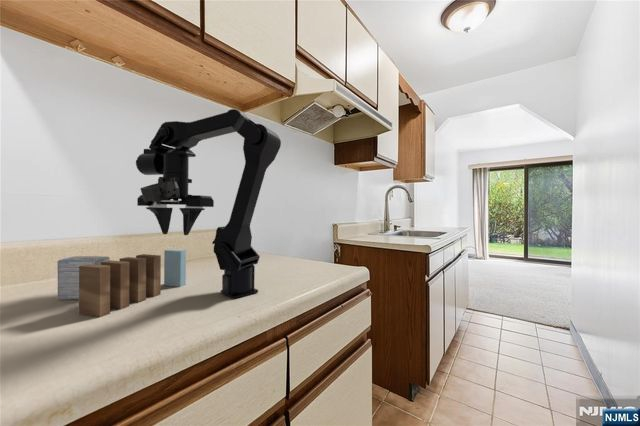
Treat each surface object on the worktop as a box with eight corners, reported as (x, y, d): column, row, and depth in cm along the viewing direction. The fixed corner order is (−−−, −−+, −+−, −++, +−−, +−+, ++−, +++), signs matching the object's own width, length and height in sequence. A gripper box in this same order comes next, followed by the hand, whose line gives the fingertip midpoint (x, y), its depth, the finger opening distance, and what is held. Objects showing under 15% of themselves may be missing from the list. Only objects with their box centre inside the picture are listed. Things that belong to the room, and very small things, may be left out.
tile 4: (109, 303, 54) (110, 260, 53) (129, 306, 52) (129, 261, 52) (100, 306, 52) (100, 262, 52) (120, 309, 51) (120, 263, 51)
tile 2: (142, 292, 61) (143, 254, 61) (160, 294, 60) (160, 255, 60) (135, 294, 59) (136, 255, 59) (153, 296, 58) (154, 256, 58)
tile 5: (89, 310, 50) (89, 264, 50) (110, 313, 49) (110, 265, 49) (79, 314, 48) (79, 266, 48) (99, 317, 47) (99, 267, 47)
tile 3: (127, 297, 57) (127, 257, 57) (145, 299, 56) (146, 258, 56) (119, 300, 56) (119, 258, 55) (138, 302, 54) (138, 260, 54)
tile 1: (169, 283, 69) (170, 249, 68) (185, 284, 67) (186, 250, 67) (164, 285, 67) (164, 250, 67) (180, 286, 66) (180, 251, 66)
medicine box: (110, 293, 60) (110, 256, 60) (94, 300, 55) (94, 259, 55) (75, 293, 60) (75, 255, 60) (56, 300, 55) (56, 259, 55)
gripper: (116, 170, 61) (115, 236, 61) (183, 168, 57) (182, 239, 57) (156, 176, 72) (155, 232, 72) (215, 175, 68) (214, 235, 68)
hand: (175, 234), depth 67 cm, fingers open, 6 cm apart
